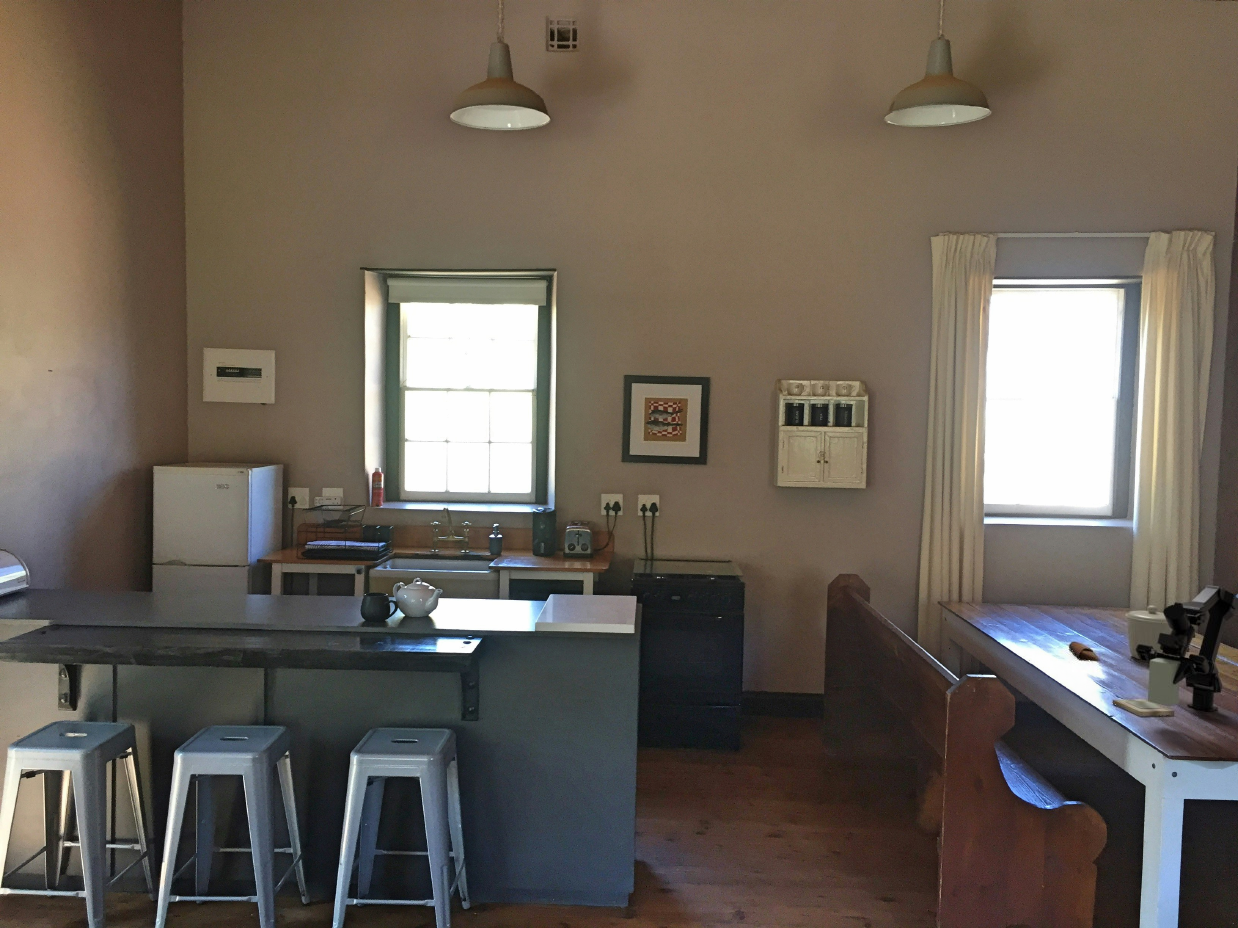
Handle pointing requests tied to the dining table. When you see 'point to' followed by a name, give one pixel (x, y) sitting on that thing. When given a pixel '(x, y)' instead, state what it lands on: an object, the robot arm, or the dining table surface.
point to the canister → (1146, 628)
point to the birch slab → (1143, 707)
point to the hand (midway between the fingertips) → (1162, 680)
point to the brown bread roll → (1083, 651)
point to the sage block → (1163, 682)
